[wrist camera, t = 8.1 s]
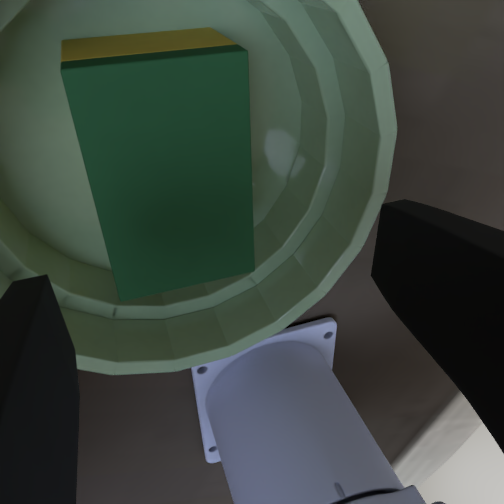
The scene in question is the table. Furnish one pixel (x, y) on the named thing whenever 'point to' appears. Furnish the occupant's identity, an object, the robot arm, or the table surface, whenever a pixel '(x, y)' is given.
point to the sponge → (165, 154)
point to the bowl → (263, 173)
